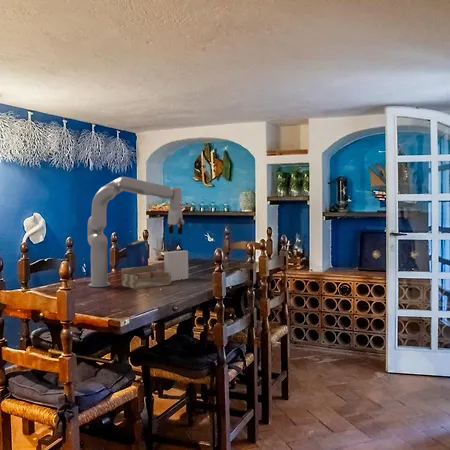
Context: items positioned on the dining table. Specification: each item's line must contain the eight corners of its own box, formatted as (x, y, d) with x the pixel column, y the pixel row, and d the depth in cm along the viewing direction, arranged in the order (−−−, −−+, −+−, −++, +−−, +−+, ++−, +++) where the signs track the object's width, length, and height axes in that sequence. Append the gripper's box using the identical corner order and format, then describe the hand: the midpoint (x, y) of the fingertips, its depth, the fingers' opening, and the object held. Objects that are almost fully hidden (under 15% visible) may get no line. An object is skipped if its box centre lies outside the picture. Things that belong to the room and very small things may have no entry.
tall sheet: (164, 280, 312) (163, 252, 311) (184, 277, 323) (184, 250, 322) (168, 281, 309) (167, 252, 308) (188, 278, 320) (188, 250, 319)
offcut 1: (135, 287, 289) (135, 273, 289) (146, 285, 294) (146, 272, 294) (139, 287, 286) (138, 274, 286) (150, 286, 291) (150, 272, 291)
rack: (121, 285, 295) (121, 268, 294) (155, 280, 311) (155, 265, 310) (136, 288, 282) (135, 271, 282) (171, 284, 298) (170, 267, 298)
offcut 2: (149, 285, 296) (149, 271, 295) (160, 283, 301) (160, 270, 301) (153, 285, 293) (153, 272, 292) (164, 284, 298) (164, 271, 298)
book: (136, 283, 302) (135, 242, 301) (125, 283, 304) (124, 242, 302) (148, 277, 323) (148, 239, 322) (138, 277, 325) (138, 239, 324)
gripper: (162, 206, 318) (162, 233, 318) (178, 207, 305) (178, 234, 305) (172, 206, 323) (172, 233, 323) (188, 207, 310) (188, 234, 310)
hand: (175, 233), depth 314 cm, fingers open, 9 cm apart
